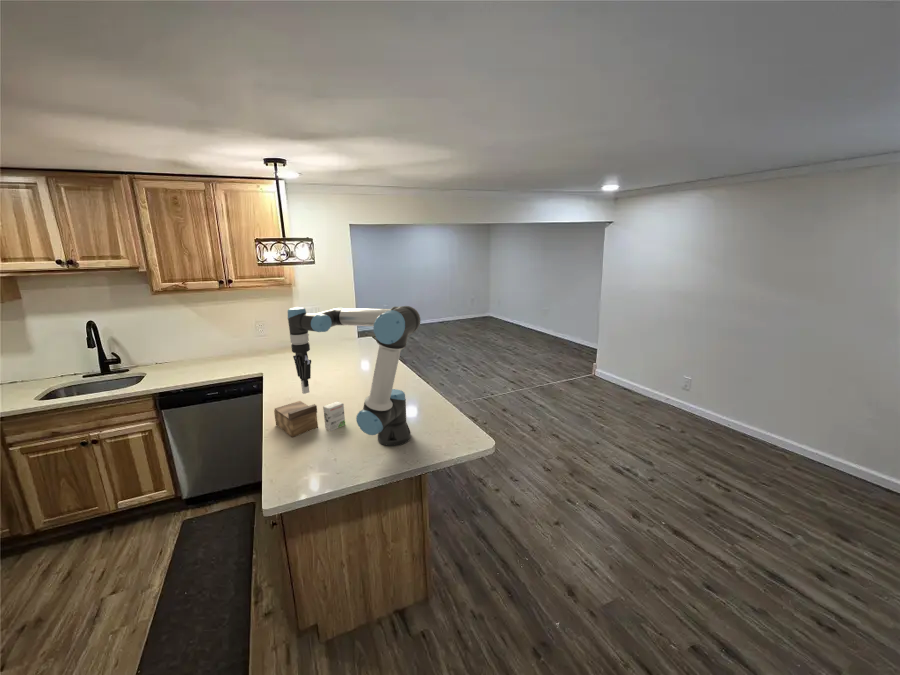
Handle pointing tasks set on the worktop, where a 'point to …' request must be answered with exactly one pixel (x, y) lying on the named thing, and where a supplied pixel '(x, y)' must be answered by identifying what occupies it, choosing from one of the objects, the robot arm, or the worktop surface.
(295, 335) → the robot arm
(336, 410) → the ink box
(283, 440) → the worktop surface
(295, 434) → the crate
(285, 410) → the lid
